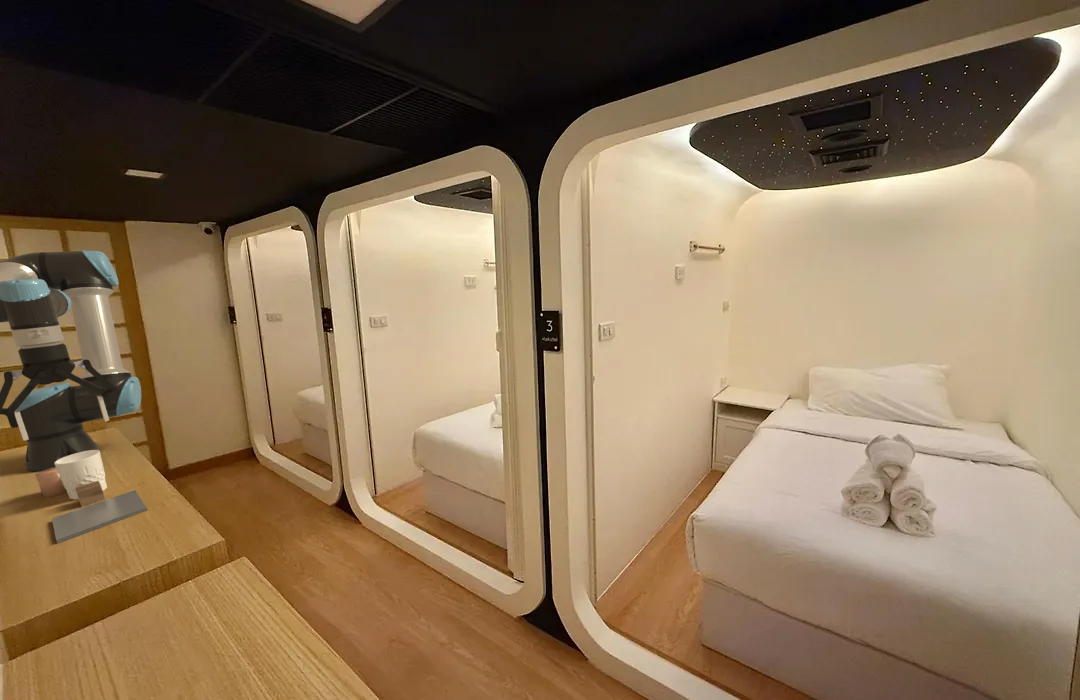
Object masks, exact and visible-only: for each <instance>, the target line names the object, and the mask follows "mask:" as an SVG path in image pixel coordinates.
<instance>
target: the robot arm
mask: <svg viewBox="0 0 1080 700" xmlns="http://www.w3.org/2000/svg"><path fill="white" fill-rule="evenodd" d="M119 285H120V283H119V279H118V276H117V273H116V270H115V268H114V266H113V265H112V263H111V261H110V259H109V258H108V256H107V255H106V254H105V253H104V252H103V251H99V250H84V249H83V250H76V251H75V250H74V251H73V250H71V251H70V250H68V251H67V250H66V251H45V252H43V251H41V252H40V251H36V252H29V253H24V254H20V255H17V256H13V257H10V258H7V259H4V260H2V261H0V323H8V325H9V327H10V331H11V334H12V337H13V340H14V343H15V345H16V347H18V348H19V347H20V348H19V349H18V350H17V352H18V355H19V359H20V361H21V364H22V369H21V370H12V371H11V370H4V372H3V380H4V382H3V384H2V386H1V389H0V415H3V416H6V418H7V420H8V424H9V426H10V428H12V429H14V428H19V431H20V434H21V437H22V441H27V447H26V453H25V460H24V465H25V469H26V470H27V471H29V472H36V471H37V472H40V471H43V470H46V469H49V468H53V467H56V466H55V464H54V462H55V461H57V460H59V459H61V458H63V457H66V456H69V455H72V454H75V453H79V452H83V451H89V450H99V447H98V445H97V443H96V442H95V440H94V439H93V438H92V437H91V436H90V434H88V433H87V432H86V431H85V429H84V426H83V423H88V422H93V421H98V420H104V422H109V421H110V418H114V417H121V416H125V415H129V414H132V413H134V412H136V411H138V410H139V408H140V406H141V402H142V386H141V382H140V380H139V378H138V377H137V376H133V375H132V374H131V372H130V371H129V370H127V369H125V368H124V366H123V362H122V357H121V353H120V347H119V343H118V338H117V334H116V330H115V329H116V328H115V324H114V323H115V322H114V319H113V315H112V310H111V306H110V301H109V297H110V296H111V295H112V294H114V288H115V287H117V286H119ZM113 287H114V288H113ZM70 310H71V312H72V317H73V322H74V327H75V332H76V335H77V336H76V337H77V340H78V341H77V342H78V345H79V349H80V354H81V355H80V356H81V360H79V361H72V360H71V358H70V355H69V351H68V348H67V345H66V344H65V343H62V342H64V341H65V337H64V335H63V331H62V329H61V325H60V323H59V319H58V318H60V317H62V316H64V315H66V314H67V313H68V312H69V311H70ZM76 367H79V368H80V369H82V370H84V374H83V375H81V376H78V375H75V374H74V373H72V372H73V371H74V370H75V368H76ZM20 376H23V377H26V378H27V379H29V381H28V383H26V385H25V386H24V387H23V388H22V390H21V391H20V393H19V394H18V395H17V396H16V397H15V398H14V400H13V401H12V402H11V403H10V404H9V406H8V407H7V408H5V407H4V405H5V403H6V401H7V398H8V396H9V393H10V391H11V389H12V386H13V384H14V383H13V382H14V381H17V380H18V379H19V377H20ZM67 380H70V381H72V382H74V383H76V384H78V385H75V386H72V385H71V383H69V382H67ZM53 383H54V384H53ZM38 385H43V386H42V387H38V388H36V387H37V386H38ZM45 385H47V386H45Z"/></svg>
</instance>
